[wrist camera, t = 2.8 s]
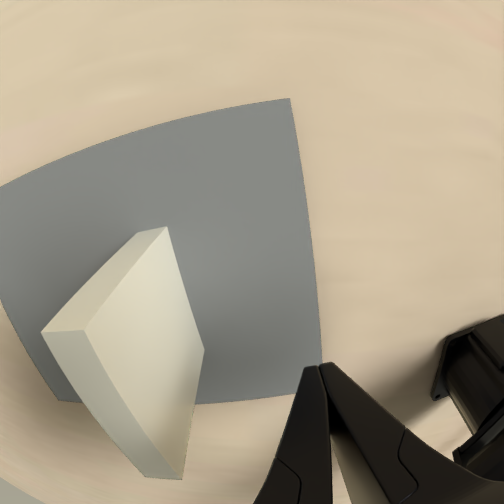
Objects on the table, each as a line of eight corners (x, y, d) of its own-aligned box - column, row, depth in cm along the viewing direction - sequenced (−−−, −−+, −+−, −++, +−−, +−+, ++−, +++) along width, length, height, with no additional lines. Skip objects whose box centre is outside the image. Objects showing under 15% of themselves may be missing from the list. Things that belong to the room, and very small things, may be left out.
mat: (322, 383, 17) (323, 388, 17) (60, 396, 19) (58, 400, 18) (288, 99, 12) (289, 98, 11) (-29, 203, 13) (-33, 205, 13)
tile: (204, 349, 16) (182, 479, 8) (177, 352, 16) (144, 477, 8) (167, 226, 13) (83, 329, 6) (136, 232, 13) (39, 332, 6)
